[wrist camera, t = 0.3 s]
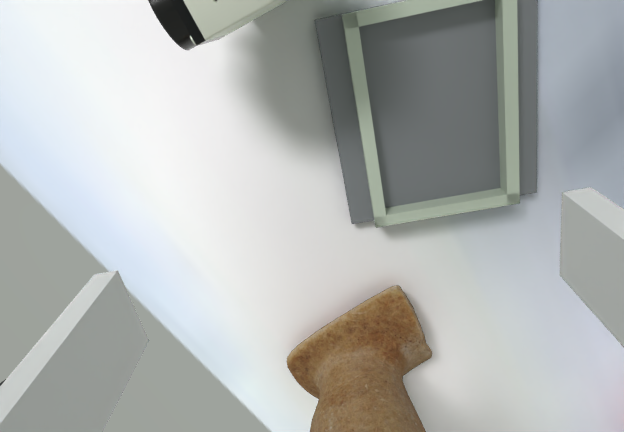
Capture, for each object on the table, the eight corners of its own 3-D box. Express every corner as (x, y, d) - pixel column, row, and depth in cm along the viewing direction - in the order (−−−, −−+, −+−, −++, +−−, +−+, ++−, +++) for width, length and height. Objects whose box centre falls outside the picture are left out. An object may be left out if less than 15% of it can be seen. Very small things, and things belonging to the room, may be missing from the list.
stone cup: (340, 413, 51) (347, 558, 38) (272, 346, 48) (253, 482, 34) (457, 349, 47) (512, 487, 34) (394, 271, 43) (427, 391, 30)
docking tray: (315, 20, 34) (314, 20, 32) (531, -28, 33) (547, -30, 30) (351, 219, 41) (352, 231, 39) (531, 188, 40) (544, 199, 37)
